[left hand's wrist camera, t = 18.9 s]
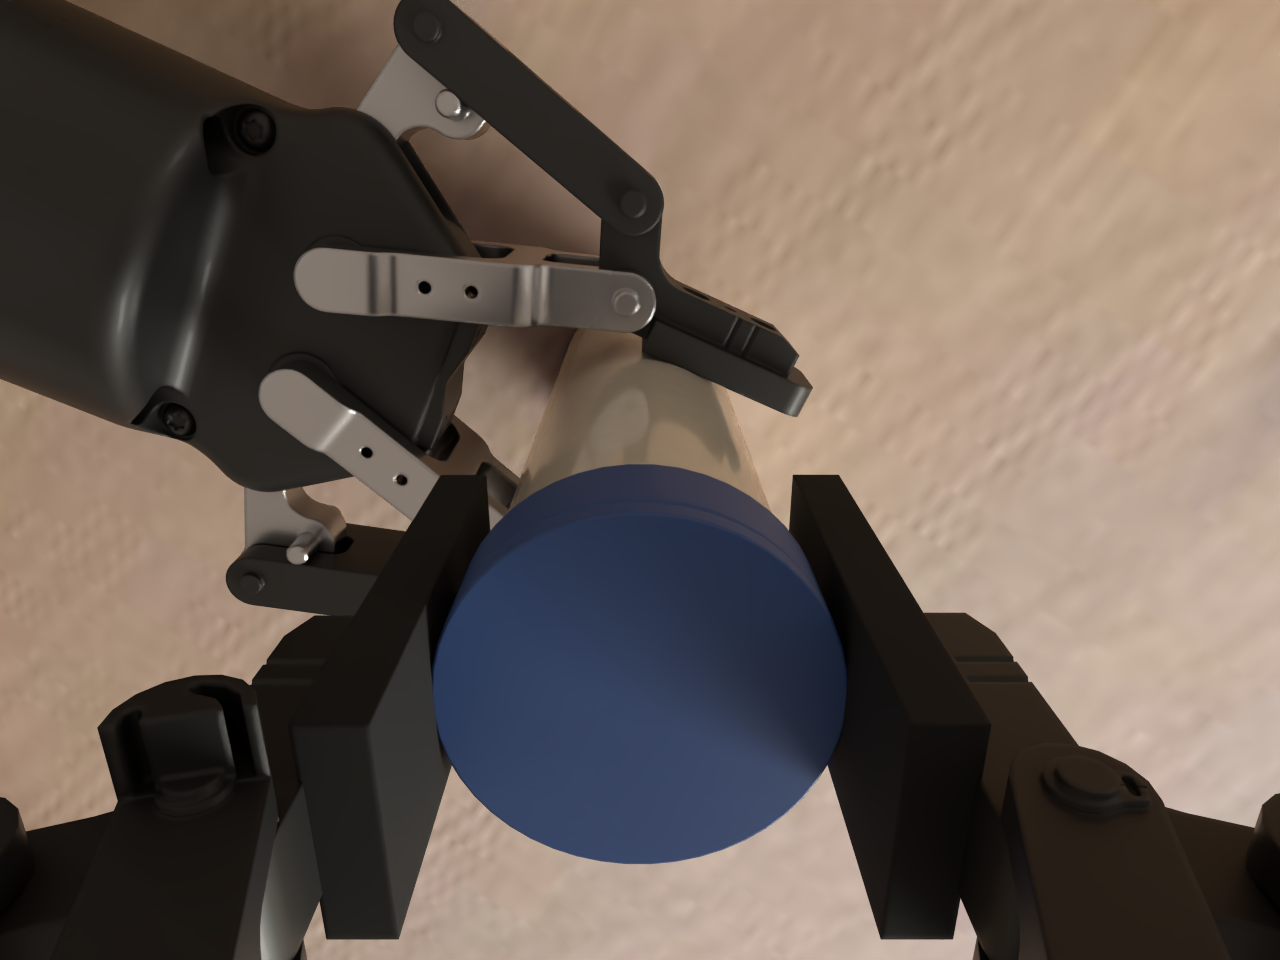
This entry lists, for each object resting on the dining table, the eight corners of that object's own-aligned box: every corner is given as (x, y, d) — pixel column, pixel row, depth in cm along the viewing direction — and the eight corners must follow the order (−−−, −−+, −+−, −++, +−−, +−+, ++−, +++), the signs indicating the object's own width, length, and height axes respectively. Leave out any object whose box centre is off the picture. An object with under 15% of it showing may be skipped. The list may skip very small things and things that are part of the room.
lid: (867, 501, 11) (904, 559, 10) (768, 803, 13) (786, 892, 11) (484, 426, 11) (458, 473, 9) (436, 747, 13) (407, 832, 11)
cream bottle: (532, 357, 26) (390, 631, 11) (657, 266, 25) (684, 434, 10) (622, 473, 27) (603, 856, 12) (744, 391, 26) (879, 700, 11)
